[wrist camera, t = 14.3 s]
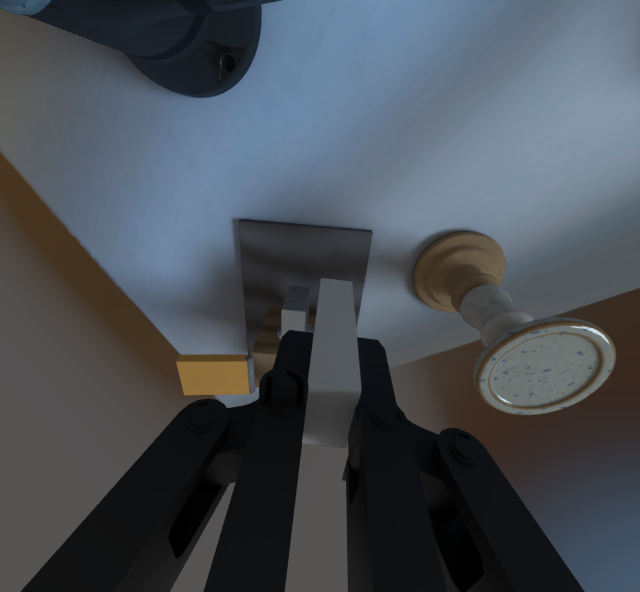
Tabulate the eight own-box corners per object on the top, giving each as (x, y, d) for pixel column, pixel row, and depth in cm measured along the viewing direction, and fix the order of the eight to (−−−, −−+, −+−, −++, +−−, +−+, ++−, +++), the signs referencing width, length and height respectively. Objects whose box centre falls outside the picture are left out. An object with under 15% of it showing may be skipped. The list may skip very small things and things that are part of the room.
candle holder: (397, 260, 40) (442, 355, 23) (484, 212, 36) (619, 282, 19) (433, 320, 45) (492, 438, 27) (513, 283, 41) (643, 393, 23)
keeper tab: (179, 354, 34) (176, 361, 33) (253, 354, 35) (252, 361, 34) (187, 387, 36) (184, 395, 35) (255, 386, 37) (254, 393, 36)
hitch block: (241, 218, 39) (204, 249, 28) (371, 230, 38) (383, 265, 28) (250, 352, 51) (226, 408, 40) (350, 362, 50) (352, 421, 40)
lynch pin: (281, 284, 38) (272, 308, 32) (318, 288, 38) (315, 312, 32) (281, 381, 47) (273, 411, 41) (311, 384, 47) (307, 415, 41)
